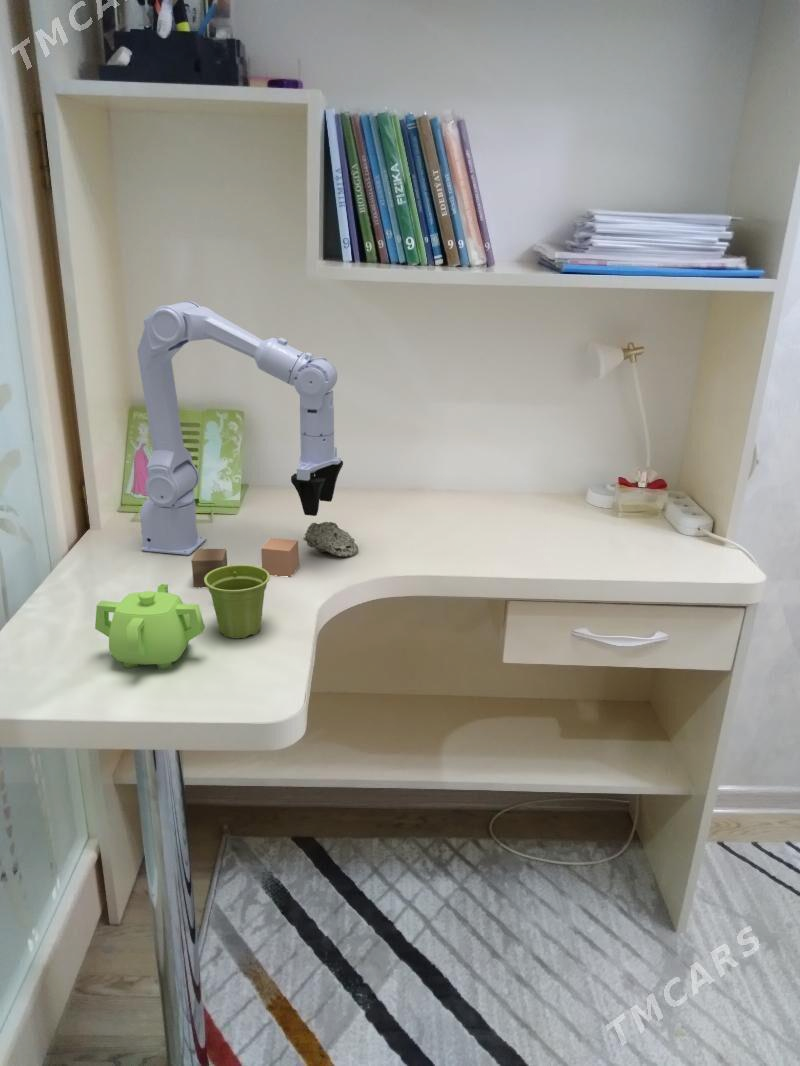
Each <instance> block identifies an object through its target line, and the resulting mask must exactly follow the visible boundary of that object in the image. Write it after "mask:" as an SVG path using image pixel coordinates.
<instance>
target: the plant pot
mask: <svg viewBox="0 0 800 1066" xmlns="http://www.w3.org/2000/svg"><path fill="white" fill-rule="evenodd" d="M229 565H230V566H229ZM229 565H227V566H224V567H220V568H217V569H215V570H212V571H211V572H209V573H208V574H207V575H206V576H205V578H204V582H205V584H206V586H207V587H208V588H207V589H208V592H209V594H210V595H211V599H212V604H213V607H214V612H215V617H216V621H217V626H218V630H219V632H220V633H222V634H223V636H224V637H227V638H231V639H244V638H245V639H246V638H247V637H248V636H250V635H256V634H257V633H258V631H261V627H262V626H261V625H262V620H263V619H262V617H263V608H264V599H265V598H264V597H265V591H266V589H267V586H268V585H267V584H268V582H269V581H270V580H271V579H270V577H271V576H270V575H269V573H268V572H267V571H266V570H265V569H263V568H262V566H261V567H260V566H256V565H250V564H229Z"/></svg>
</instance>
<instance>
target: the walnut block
mask: <svg viewBox="0 0 800 1066" xmlns="http://www.w3.org/2000/svg"><path fill="white" fill-rule="evenodd" d="M227 552H228V551H227V548H197V549H196V550H194V554H193V556H192V559H191V567H192V568H191V569H192V581H193V588H194V587H197V588H196V589H199V588H198V587H200V589H202V588H201V587H207V586H206V584H205V582H204V578H205V576H206V575H207V574H208V573H209V572H211V571H212V570H215V569H217V568H220V567H224V566H228V553H227Z"/></svg>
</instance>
